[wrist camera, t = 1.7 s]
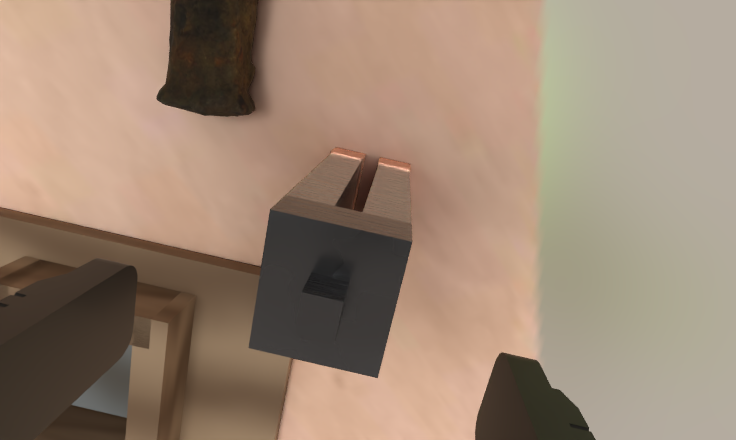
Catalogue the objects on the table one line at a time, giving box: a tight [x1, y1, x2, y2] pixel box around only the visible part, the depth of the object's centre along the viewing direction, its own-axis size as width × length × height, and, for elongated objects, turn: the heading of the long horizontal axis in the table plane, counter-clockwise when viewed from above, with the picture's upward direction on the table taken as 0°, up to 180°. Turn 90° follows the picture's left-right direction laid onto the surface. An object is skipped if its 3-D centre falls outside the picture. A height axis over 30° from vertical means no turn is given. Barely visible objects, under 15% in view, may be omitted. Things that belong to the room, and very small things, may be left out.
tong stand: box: [0, 208, 292, 440], centre depth 25 cm, size 14×20×4 cm
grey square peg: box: [248, 147, 412, 378], centre depth 17 cm, size 4×4×13 cm
